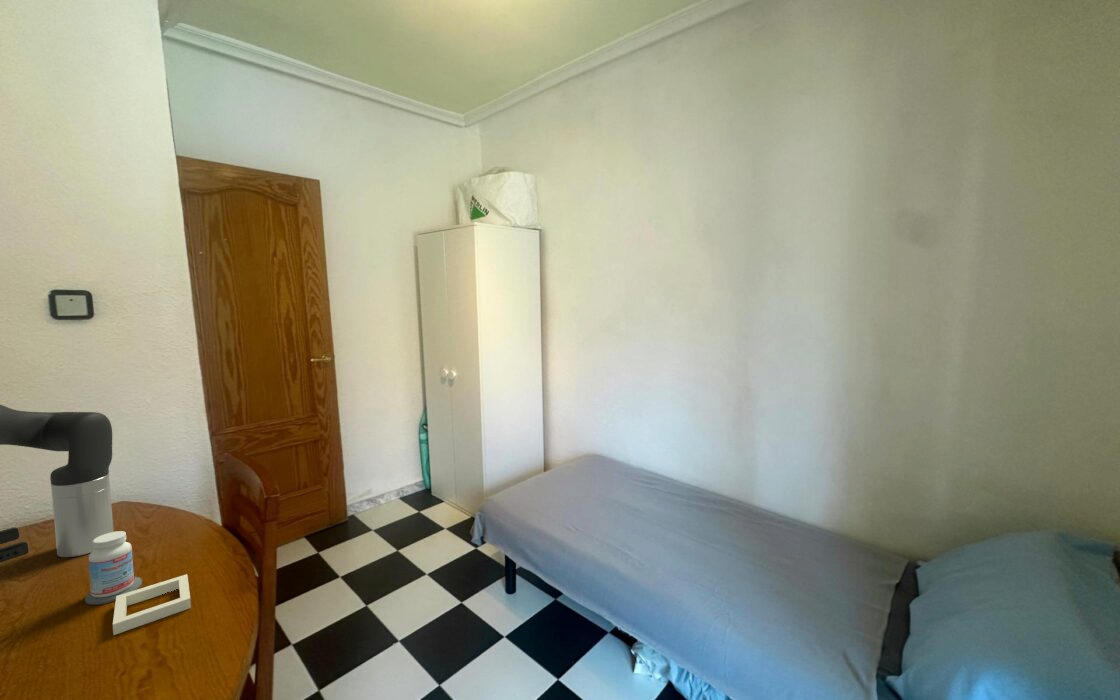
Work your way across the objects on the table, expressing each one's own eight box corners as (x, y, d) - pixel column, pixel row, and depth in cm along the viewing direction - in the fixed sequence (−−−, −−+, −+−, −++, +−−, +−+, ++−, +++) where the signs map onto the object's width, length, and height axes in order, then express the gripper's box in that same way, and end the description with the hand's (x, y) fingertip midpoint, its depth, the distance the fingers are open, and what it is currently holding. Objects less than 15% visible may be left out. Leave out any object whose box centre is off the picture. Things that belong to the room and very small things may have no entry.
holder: (117, 605, 83) (116, 596, 82) (187, 583, 90) (187, 574, 90) (113, 635, 75) (112, 624, 75) (190, 607, 82) (190, 598, 82)
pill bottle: (106, 601, 83) (101, 546, 82) (82, 596, 84) (78, 542, 83) (142, 582, 89) (138, 531, 88) (120, 578, 90) (116, 527, 89)
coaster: (87, 590, 87) (87, 588, 87) (142, 574, 92) (142, 572, 92) (83, 610, 81) (82, 607, 81) (141, 592, 87) (141, 589, 87)
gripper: (-158, 584, 58) (28, 531, 72) (-157, 551, 66) (12, 509, 80) (-149, 634, 59) (34, 572, 73) (-148, 596, 67) (18, 546, 80)
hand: (22, 539), depth 76 cm, fingers open, 8 cm apart
